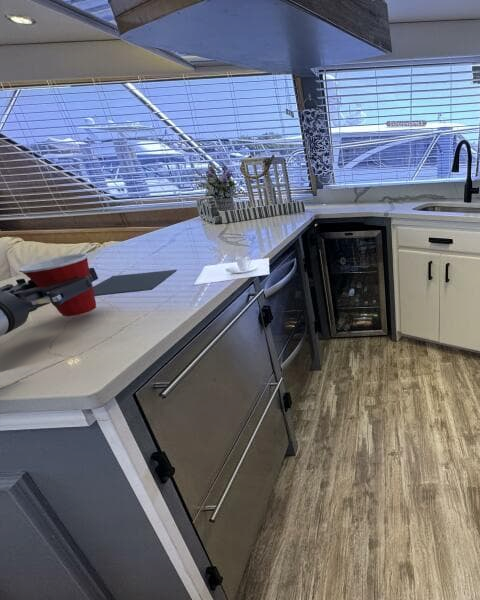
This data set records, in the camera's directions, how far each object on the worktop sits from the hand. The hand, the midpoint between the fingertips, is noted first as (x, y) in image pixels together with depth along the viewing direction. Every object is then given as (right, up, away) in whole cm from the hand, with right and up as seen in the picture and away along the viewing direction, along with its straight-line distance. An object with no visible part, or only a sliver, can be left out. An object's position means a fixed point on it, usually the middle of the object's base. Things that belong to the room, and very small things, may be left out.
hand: (74, 275), depth 73 cm
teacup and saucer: (+22, +4, +28) cm, 36 cm away
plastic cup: (+2, -8, -1) cm, 9 cm away
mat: (-4, -1, +20) cm, 21 cm away
